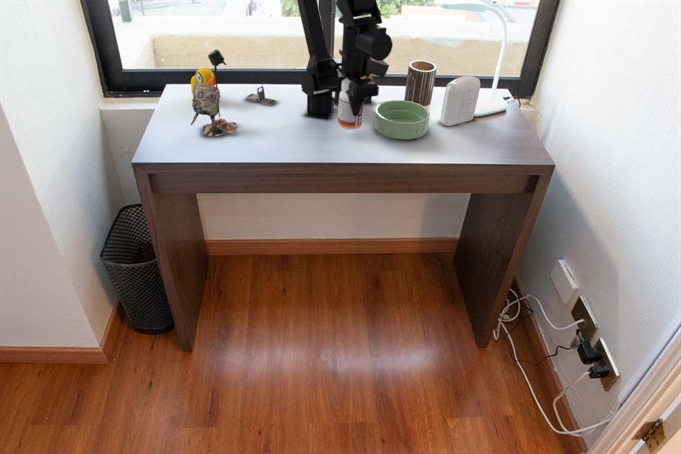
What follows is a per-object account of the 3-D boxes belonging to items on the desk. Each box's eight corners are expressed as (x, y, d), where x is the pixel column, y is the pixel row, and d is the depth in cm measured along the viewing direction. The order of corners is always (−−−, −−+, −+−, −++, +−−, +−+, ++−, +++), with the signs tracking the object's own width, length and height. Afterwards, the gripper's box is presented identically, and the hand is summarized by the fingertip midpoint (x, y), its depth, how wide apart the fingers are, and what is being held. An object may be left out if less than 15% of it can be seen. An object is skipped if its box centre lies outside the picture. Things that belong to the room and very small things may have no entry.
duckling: (226, 106, 141) (223, 71, 135) (210, 111, 138) (205, 75, 132) (204, 93, 147) (199, 59, 141) (187, 98, 144) (182, 63, 138)
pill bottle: (355, 117, 132) (358, 75, 125) (366, 128, 127) (369, 85, 120) (333, 121, 129) (335, 79, 122) (344, 132, 125) (346, 88, 118)
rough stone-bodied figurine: (196, 122, 132) (185, 45, 120) (240, 124, 132) (233, 47, 120) (189, 137, 126) (176, 57, 114) (234, 139, 126) (227, 59, 114)
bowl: (369, 136, 130) (370, 118, 127) (379, 114, 141) (381, 97, 138) (423, 145, 128) (426, 127, 124) (429, 121, 138) (432, 104, 135)
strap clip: (245, 99, 145) (244, 85, 142) (251, 96, 147) (250, 81, 144) (271, 106, 142) (270, 91, 140) (276, 102, 144) (276, 87, 142)
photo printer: (464, 114, 143) (473, 71, 136) (475, 120, 140) (484, 76, 133) (437, 121, 138) (444, 78, 131) (448, 128, 136) (456, 83, 128)
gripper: (403, 58, 112) (395, 122, 121) (371, 32, 126) (367, 92, 135) (356, 62, 109) (352, 128, 118) (329, 35, 122) (327, 96, 132)
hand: (350, 110), depth 126 cm, fingers closed on pill bottle, 6 cm apart
